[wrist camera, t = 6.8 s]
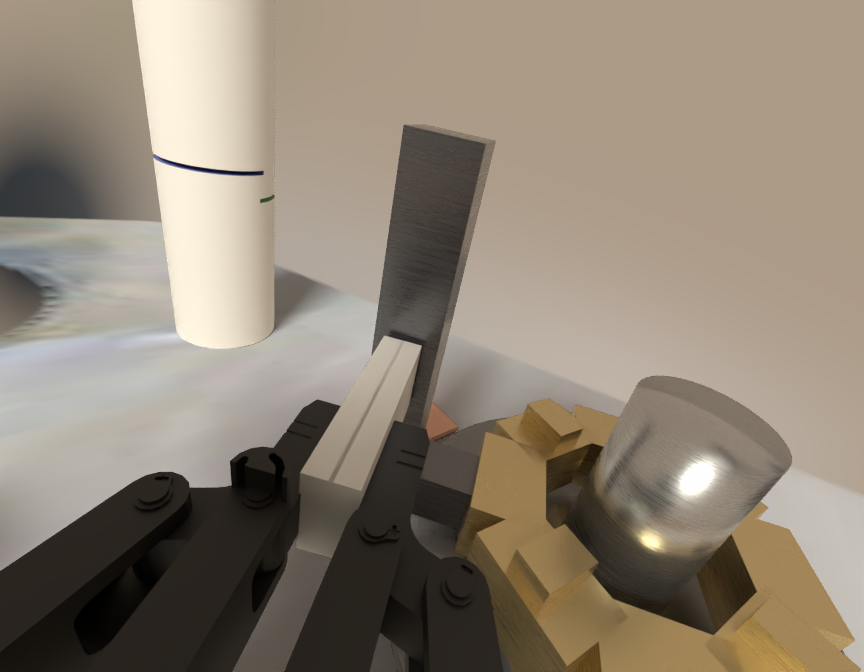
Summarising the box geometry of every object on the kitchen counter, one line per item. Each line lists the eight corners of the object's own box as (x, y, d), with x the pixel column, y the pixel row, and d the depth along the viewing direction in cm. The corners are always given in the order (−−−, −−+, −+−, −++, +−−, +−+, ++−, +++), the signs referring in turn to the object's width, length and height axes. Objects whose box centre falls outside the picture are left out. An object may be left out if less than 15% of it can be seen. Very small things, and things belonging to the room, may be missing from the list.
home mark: (456, 430, 28) (457, 426, 28) (429, 442, 26) (430, 438, 26) (413, 388, 31) (414, 384, 31) (386, 397, 29) (387, 392, 29)
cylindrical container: (156, 321, 32) (83, -130, 20) (237, 297, 38) (220, -66, 25) (214, 360, 29) (172, -134, 17) (292, 327, 35) (303, -62, 23)
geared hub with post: (716, 492, 24) (924, 230, 16) (887, 867, 12) (1998, 533, 4) (405, 393, 26) (458, 124, 19) (283, 621, 14) (294, 124, 7)
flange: (718, 489, 28) (825, 353, 22) (1038, 1103, 10) (1854, 1157, 5) (433, 407, 29) (468, 263, 24) (299, 820, 12) (320, 635, 7)
